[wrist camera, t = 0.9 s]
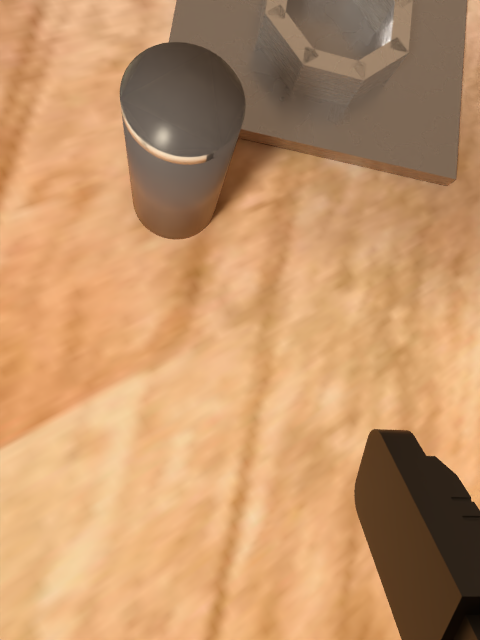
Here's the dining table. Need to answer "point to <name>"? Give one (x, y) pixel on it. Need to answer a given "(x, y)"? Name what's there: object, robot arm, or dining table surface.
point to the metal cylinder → (179, 134)
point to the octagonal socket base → (343, 76)
